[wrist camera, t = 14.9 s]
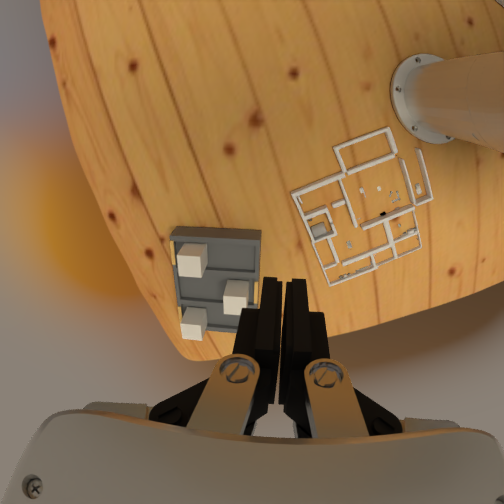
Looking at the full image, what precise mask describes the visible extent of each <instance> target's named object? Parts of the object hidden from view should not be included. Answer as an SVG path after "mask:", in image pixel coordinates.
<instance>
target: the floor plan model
mask: <svg viewBox="0 0 504 504" xmlns="http://www.w3.org/2000/svg"><path fill="white" fill-rule="evenodd" d="M384 132H385V135H386V138H387V141H388V143H389V146H390V149H391V152H392V153H389V154H387V155H384V156H381V157H379V158H376V159H373V160H371V161H368V162H366V163H363V164H360V165H358V166H355V167H353V168H350V169H348V170H346V168H345V165H344V163H343V160H342V157H341V155H340V153H339V150H338V149H341V148H344V147H346V146H349V145H351V144H354V143H357V142H359V141H362V140H365V139H367V138H370V137H373V136H375V135H378V134H381V133H384ZM414 149H415V152H416V155H417V159H418V162H419V166H420V169H421V173H422V177H423V181H424V185H425V189H426V193H427V195H425V196H423V197H420V198H418V199H416V200H415V197H414V194H413V190H412V186H411V182H410V179H409V175H408V172H407V168H406V165H405V162H404V160H403V159H401V158H398V160H399V163H400V166H401V169H402V173H403V176H404V180H405V183H406V187H407V190H408V194H409V198H410V202H412V203H413V204H414V205H416V206H419V205H421V204H424V203H426V202H428V201H431V200H433V195H432V190H431V186H430V182H429V178H428V174H427V170H426V166H425V163H424V159H423V155H422V152H421V149H419V148H414ZM333 150H334V152H335V155H336V157H337V160H338V162H339V165H340V167H341V170H342V171H341V172H338V173H336V174H333V175H331V176H328V177H326V178H323V179H321V180H318V181H316V182H314V183H311V184H309V185H306V186H304V187H301V188H299V189H296V190H294V191H292V192H291V195H292V197H293V199H294V201H295V203H296V205H297V208H298V210H299V212H300V214H301V217H302V219H303V221H304V223H305V226H306V228H307V230H308V233H309V235H310V237H311V243H312V245H313V248H314V250H315V252H316V255H317V257H318V260H319V262H320V264H321V267H322V269H323V272H324V274H325V277H326V279H327V282H328V284H329V287H331V286H333V285H336V284H339V283H341V282H344V281H347V280H349V279H352V278H355V277H357V276H360V275H362V274H365V273H367V272H370V271H372V270H375V269H378V266H380V265H382V264H385V263H387V262H390V261H392V260H395V259H397V258H399V257H402V256H404V255H407V254H409V253H411V252H414V251H416V250H418V249H421V248H422V244H421V239H420V234H419V230H418V225H417V221H416V217H415V212H414V210H415V207H414V206H413V205H412V204H409V205H407V206H404V207H402V208H399V207H398V208H399V209H398V208H395V209H397V210H394V211H392V212H389V213H387V214H386V213H385V212H384V213H382V214H380V215H381V216H379V217H377V218H374V219H372V220H369V221H367V222H364V223H362V224H360V225H361V228H362V229H363V230H366V229H368V228H371V227H373V226H376V225H378V224H381V223H383V226H384V229H385V233H386V236H387V240H388V243H385V244H383V245H380V246H378V247H375V248H373V249H370V250H368V251H365V252H363V253H360V254H358V255H355V256H353V257H350V258H347V259H345V260H342V264H343V266H345V265H348V264H351V263H353V262H356V261H358V260H361V259H363V258H366V257H368V256H370V257H371V260H372V261H371V265H369V266H366V267H364V268H361V269H359V270H356V271H355V272H356V273H353V274H350V273H348V274H347V275H348V276H347V275H346V274H343V275H344V277H343V276H342V275H341V276H339V278H340V279H337V280H335V281H332V282H329V279H328V277H327V274H326V272H325V270H326V269H328V268H331V267H333V266H336V265H337V263H339V262H340V261H339V259H338V256H337V253H336V251H335V248H334V245H333V243H332V240H331V237H334V236H337V232H336V230H335V227H334V224H333V222H332V219H331V216H330V214H329V211H328V209H327V206H326V205H324V206H321V207H319V208H316V209H314V210H311V211H309V212H306V213H303V210H302V208H301V206H300V204H299V201H300V203H301V204H302V203H303V202H302V200H301V199H300V197H299V196H300V195H302V194H304V193H307V192H309V191H312V190H314V189H317V188H319V187H322V186H324V185H327V184H329V183H332V182H334V181H337V180H338V181H339V184H340V187H341V190H342V193H343V195H344V198H345V200H344V198H343V199H340V200H338V201H335V202H333V203H331V204H332V206H333V208H336V207H338V206H341V205H343V204H347V207H348V210H349V213H350V216H351V219H352V222H353V225H354V227H355V228H356V227H358V225H357V222H356V219H355V216H354V213H353V210H352V207H351V204H350V202H349V199H348V196H347V194H346V191H345V188H344V186H343V183H342V181H341V179H342V178H345V174H344V173H345V172H346V173H347V174H348V175H350V174H353V173H356V172H358V171H361V170H363V169H366V168H368V167H371V166H374V165H376V164H379V163H381V162H384V161H387V160H389V159H392V158H395V155H394V154H395V153H398V150H397V147H396V144H395V141H394V138H393V135H392V132H391V130H390V127H385V128H382V129H379V130H376V131H374V132H371V133H368V134H365V135H363V136H360V137H357V138H355V139H352V140H349V141H347V142H344V143H342V144H339V145H336V146H334V147H333ZM396 156H397V155H396ZM415 186H416V192H417V194H421V193H422V192H421V189H420V185H419V183H417V184H415ZM359 189H360V192H361V193H364V196H365V198H366V195H365V192H364V189H363V187H361V188H359ZM377 189H378V191H380V190H381V188H380V186H379V187H377ZM392 193H393V192H392V191H391V192H390V195H389V197H391V194H392ZM396 193H397V197H398V199H395V200H392V203H394V201H397V200H400V198H399V194H398V191H396ZM297 197H298V199H299V201H298V199H297ZM345 202H346V203H345ZM410 211H412V213H413V218H414V222H415V227H414V228H413V229H412V228H411V229H409V230H407V233H406V232H404V233H403V234H402V235H400V237H398V238H395V239H393V236H392V233H391V229H390V225H389V222H388V220H391V219H393V218H395V217H398V216H400V215H403V214H405V213H408V212H410ZM323 213H326V214H327V217H328V219H329V222H330V224H331V227H332V229H333V230H331V231H328V232H327V231H326V228H325V226H324V223H323V222H321V223H319V224H316V225H314V226H311V229H312V231H311V229H310V227H309V224H308V222H307V220H308V219H310V218H311V220H309V221H312V218H313V217H315V216H318V215H320V214H323ZM359 219H361V218H359ZM357 220H358V219H357ZM398 226H399V227H401V225H400V224H398ZM312 233H313V234H312ZM416 234H417V235H418V238H417V240H419V245H420V246H418V247H415V248H413V249H411V250H408V251H406V252H403V253H401V254H399V255H397V253H396V249H395V245H394V243H396V242H399V241H401V240H404V239H406V238H409V237H411V236H413V235H416ZM313 235H314V236H315V237H314V236H313ZM326 238H327V240H328V243H329V245H330V248H331V250H332V253H333V256H334V258H335V262H332V263H329V264H327V265H324V266H323V264H322V262H321V259H320V257H319V254H318V252H317V250H316V247H315V245H314V243H316V242H319V241H321V240H324V239H326ZM346 243H347V245H348V248H352V246H351V243H350V241H347V242H346ZM352 244H353V243H352ZM390 247H391V249H392V253H393V257H391V258H389V259H386V260H384V261H381V262H379V263H375V260H374V256H373V254H375V253H378V252H380V251H382V250H385V249H387V248H390ZM350 250H351V249H350ZM372 263H373V264H372ZM370 266H371V267H370Z"/></svg>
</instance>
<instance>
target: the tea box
mask: <svg viewBox="0 0 504 504" xmlns="http://www.w3.org/2000/svg"><path fill="white" fill-rule="evenodd" d="M496 1H497V2H498V3H499V4H501V5H502V6H503V7H504V0H496Z"/></svg>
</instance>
